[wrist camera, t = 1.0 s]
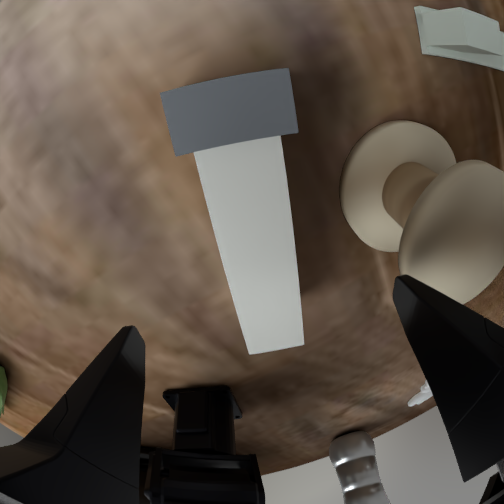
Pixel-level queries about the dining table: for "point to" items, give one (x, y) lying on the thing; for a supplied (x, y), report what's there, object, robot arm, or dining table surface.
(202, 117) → the mallet
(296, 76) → the dining table surface
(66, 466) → the robot arm
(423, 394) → the acanthus leaf ornament
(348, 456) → the plastic bottle
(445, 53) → the notched board
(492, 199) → the bobbin
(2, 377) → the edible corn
